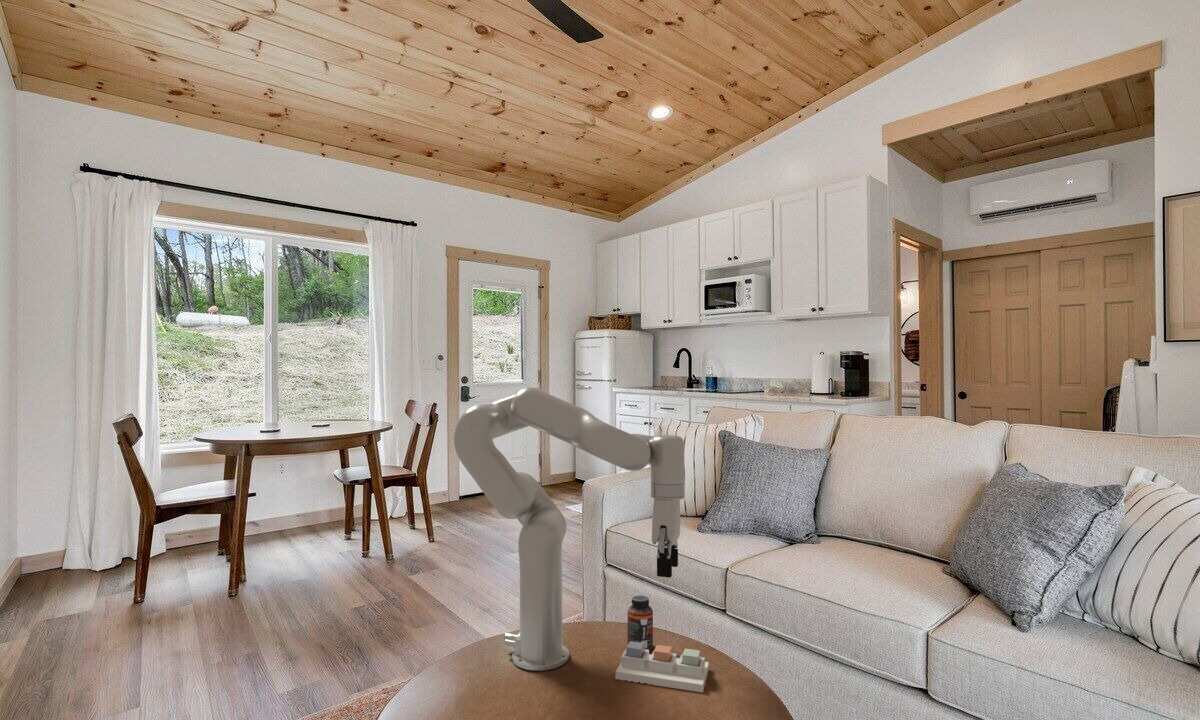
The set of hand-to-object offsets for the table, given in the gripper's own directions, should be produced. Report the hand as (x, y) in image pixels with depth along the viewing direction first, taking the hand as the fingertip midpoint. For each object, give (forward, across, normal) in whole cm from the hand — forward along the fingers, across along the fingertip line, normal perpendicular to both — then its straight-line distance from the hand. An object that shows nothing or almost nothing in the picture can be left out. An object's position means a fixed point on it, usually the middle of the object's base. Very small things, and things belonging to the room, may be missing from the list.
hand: (667, 570), depth 128 cm
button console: (+20, +6, 0) cm, 21 cm away
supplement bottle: (+20, -5, -8) cm, 22 cm away
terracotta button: (+17, +6, 0) cm, 18 cm away
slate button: (+17, +6, -6) cm, 19 cm away
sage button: (+17, +6, +6) cm, 19 cm away
